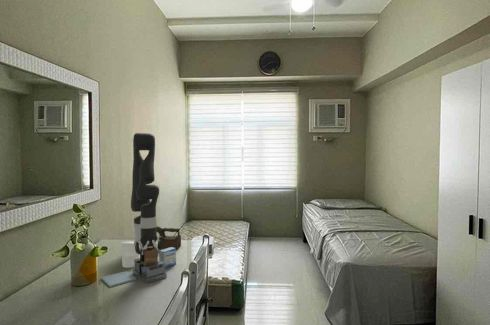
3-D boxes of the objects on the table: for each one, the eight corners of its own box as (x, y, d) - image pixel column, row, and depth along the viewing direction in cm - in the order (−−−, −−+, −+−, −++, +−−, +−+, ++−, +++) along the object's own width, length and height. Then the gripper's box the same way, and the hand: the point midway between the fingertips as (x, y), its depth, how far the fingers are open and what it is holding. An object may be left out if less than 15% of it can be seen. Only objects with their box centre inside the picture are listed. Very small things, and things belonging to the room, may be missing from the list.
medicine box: (164, 268, 163) (164, 252, 163) (159, 266, 166) (158, 250, 166) (176, 264, 170) (176, 248, 169) (170, 262, 172) (170, 246, 172)
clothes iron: (158, 245, 203) (157, 224, 202) (182, 246, 201) (181, 225, 200) (153, 249, 195) (152, 227, 194) (177, 250, 193) (177, 228, 192)
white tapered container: (143, 261, 173) (142, 240, 173) (135, 268, 164) (135, 245, 164) (127, 261, 174) (126, 239, 174) (119, 267, 165) (118, 244, 165)
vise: (132, 273, 158) (132, 250, 157) (151, 267, 164) (151, 246, 164) (146, 283, 146) (146, 258, 145) (166, 277, 152) (166, 253, 152)
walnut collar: (140, 262, 155) (140, 248, 154) (152, 260, 159) (152, 246, 158) (146, 266, 150) (145, 251, 150) (157, 263, 154) (157, 249, 154)
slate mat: (101, 279, 151) (101, 277, 150) (126, 272, 158) (126, 270, 158) (110, 287, 142) (110, 285, 141) (136, 279, 149) (136, 278, 149)
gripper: (158, 222, 161) (159, 254, 162) (130, 226, 152) (131, 261, 152) (165, 224, 156) (166, 258, 156) (137, 229, 146) (138, 265, 147)
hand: (149, 259), depth 154 cm, fingers closed on walnut collar, 6 cm apart
